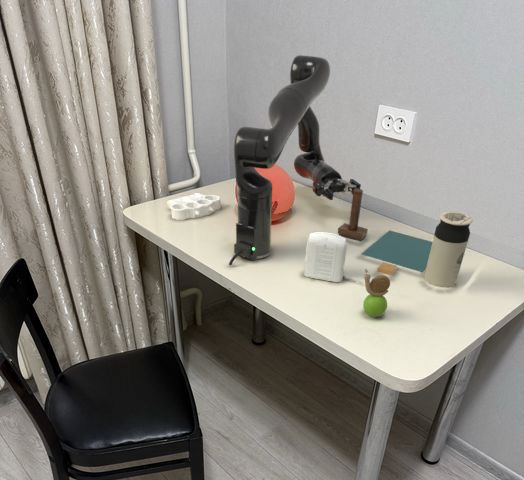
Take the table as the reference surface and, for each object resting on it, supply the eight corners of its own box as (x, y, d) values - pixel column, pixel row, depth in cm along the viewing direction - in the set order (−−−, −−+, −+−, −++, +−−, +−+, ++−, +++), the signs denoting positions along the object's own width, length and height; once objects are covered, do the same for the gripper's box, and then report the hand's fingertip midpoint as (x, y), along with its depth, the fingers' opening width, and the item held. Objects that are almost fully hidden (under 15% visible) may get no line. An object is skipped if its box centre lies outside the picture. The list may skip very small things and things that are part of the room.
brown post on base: (360, 245, 146) (367, 195, 137) (336, 239, 149) (342, 190, 140) (366, 239, 149) (373, 190, 140) (343, 233, 152) (349, 185, 143)
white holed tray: (204, 198, 174) (228, 211, 165) (159, 210, 165) (183, 224, 156) (203, 188, 172) (228, 201, 163) (158, 200, 163) (182, 214, 154)
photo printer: (343, 276, 131) (349, 232, 124) (341, 284, 128) (346, 239, 120) (306, 270, 133) (309, 227, 126) (302, 277, 130) (305, 233, 123)
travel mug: (416, 281, 129) (432, 215, 119) (435, 273, 133) (452, 208, 122) (442, 294, 125) (460, 226, 114) (461, 285, 128) (480, 218, 117)
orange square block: (390, 279, 130) (392, 271, 129) (376, 275, 132) (377, 267, 131) (395, 273, 133) (397, 265, 132) (381, 269, 135) (382, 261, 133)
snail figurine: (355, 308, 119) (362, 263, 111) (381, 307, 119) (390, 263, 112) (360, 321, 114) (368, 275, 107) (387, 320, 115) (397, 274, 108)
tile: (421, 276, 132) (422, 272, 131) (360, 257, 140) (360, 253, 139) (446, 249, 145) (447, 245, 144) (388, 233, 153) (389, 230, 152)
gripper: (306, 168, 158) (324, 185, 145) (347, 165, 161) (368, 181, 148) (304, 191, 162) (321, 209, 150) (344, 188, 165) (365, 206, 153)
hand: (345, 195), depth 149 cm, fingers open, 8 cm apart
